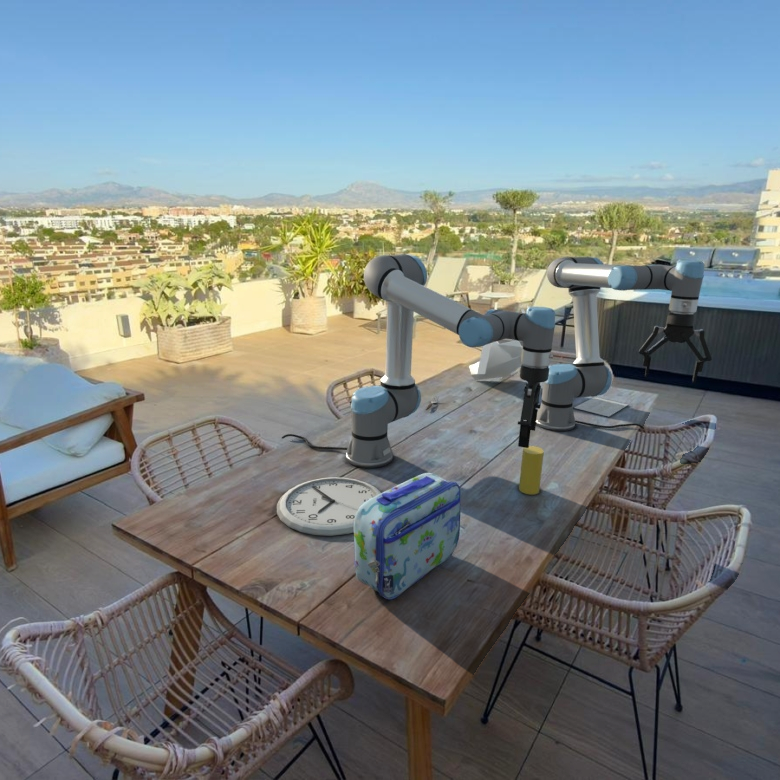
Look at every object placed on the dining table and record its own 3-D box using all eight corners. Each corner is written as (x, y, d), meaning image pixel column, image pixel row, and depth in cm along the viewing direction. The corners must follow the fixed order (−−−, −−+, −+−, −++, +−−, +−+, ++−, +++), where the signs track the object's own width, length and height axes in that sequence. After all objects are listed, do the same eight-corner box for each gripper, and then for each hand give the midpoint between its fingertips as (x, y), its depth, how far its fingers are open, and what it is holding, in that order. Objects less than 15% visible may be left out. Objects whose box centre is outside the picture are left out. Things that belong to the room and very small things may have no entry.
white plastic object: (490, 422, 261) (470, 399, 236) (471, 348, 283) (451, 320, 258) (563, 398, 249) (550, 371, 224) (537, 323, 271) (522, 291, 246)
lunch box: (382, 612, 103) (384, 519, 97) (347, 586, 110) (346, 498, 104) (464, 557, 121) (469, 475, 114) (429, 538, 128) (432, 460, 122)
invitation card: (608, 416, 214) (573, 407, 224) (608, 416, 214) (573, 408, 224) (628, 404, 229) (594, 396, 238) (628, 405, 229) (594, 397, 238)
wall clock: (392, 527, 129) (268, 531, 127) (391, 533, 130) (269, 537, 127) (383, 473, 158) (282, 475, 155) (383, 478, 158) (282, 480, 156)
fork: (422, 410, 217) (423, 406, 216) (433, 399, 231) (433, 395, 231) (428, 411, 216) (429, 407, 216) (438, 400, 230) (439, 396, 230)
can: (518, 492, 151) (522, 452, 148) (519, 484, 157) (523, 444, 153) (539, 495, 150) (543, 455, 146) (539, 486, 155) (543, 447, 151)
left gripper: (544, 378, 129) (534, 457, 135) (554, 356, 151) (545, 425, 157) (513, 374, 131) (505, 452, 138) (527, 353, 153) (520, 421, 160)
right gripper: (637, 310, 162) (627, 376, 168) (731, 317, 152) (716, 386, 159) (637, 307, 168) (627, 371, 175) (727, 313, 159) (713, 380, 165)
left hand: (526, 438), depth 147 cm, fingers open, 13 cm apart
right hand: (669, 378), depth 167 cm, fingers open, 13 cm apart
